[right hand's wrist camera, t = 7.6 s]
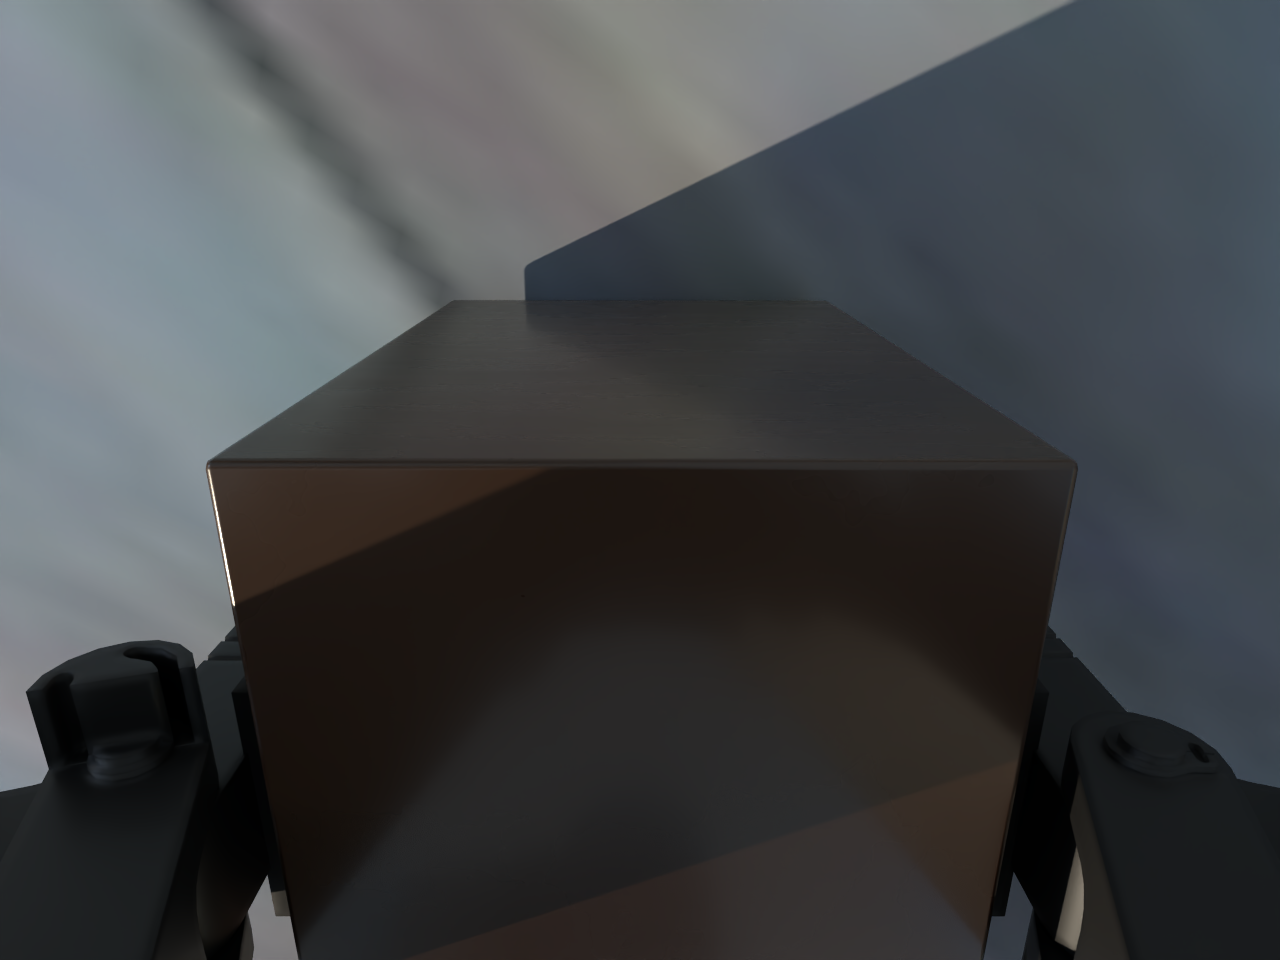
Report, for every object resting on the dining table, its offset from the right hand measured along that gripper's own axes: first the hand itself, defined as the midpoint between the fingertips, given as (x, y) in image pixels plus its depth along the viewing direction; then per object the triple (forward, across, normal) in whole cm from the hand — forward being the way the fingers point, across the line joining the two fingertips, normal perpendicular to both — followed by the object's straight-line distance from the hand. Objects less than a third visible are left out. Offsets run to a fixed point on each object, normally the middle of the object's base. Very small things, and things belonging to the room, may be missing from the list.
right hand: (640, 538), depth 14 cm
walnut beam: (0, 0, -14) cm, 14 cm away
